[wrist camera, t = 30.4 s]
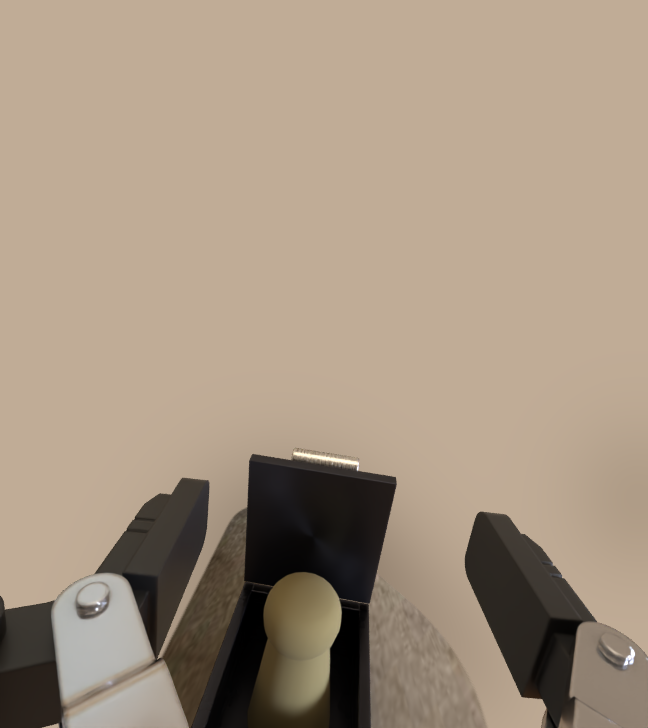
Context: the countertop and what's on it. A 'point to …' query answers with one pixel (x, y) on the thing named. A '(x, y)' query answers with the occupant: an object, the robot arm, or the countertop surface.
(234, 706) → the box
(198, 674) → the countertop surface
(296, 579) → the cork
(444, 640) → the countertop surface
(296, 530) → the warmer lid
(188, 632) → the countertop surface
